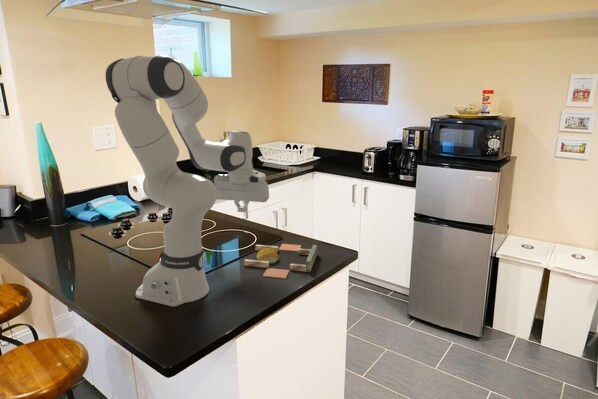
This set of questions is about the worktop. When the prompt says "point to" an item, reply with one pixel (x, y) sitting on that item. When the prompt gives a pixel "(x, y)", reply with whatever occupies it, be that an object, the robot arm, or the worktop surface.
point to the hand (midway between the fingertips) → (242, 211)
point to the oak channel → (296, 267)
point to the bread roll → (268, 255)
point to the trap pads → (279, 272)
